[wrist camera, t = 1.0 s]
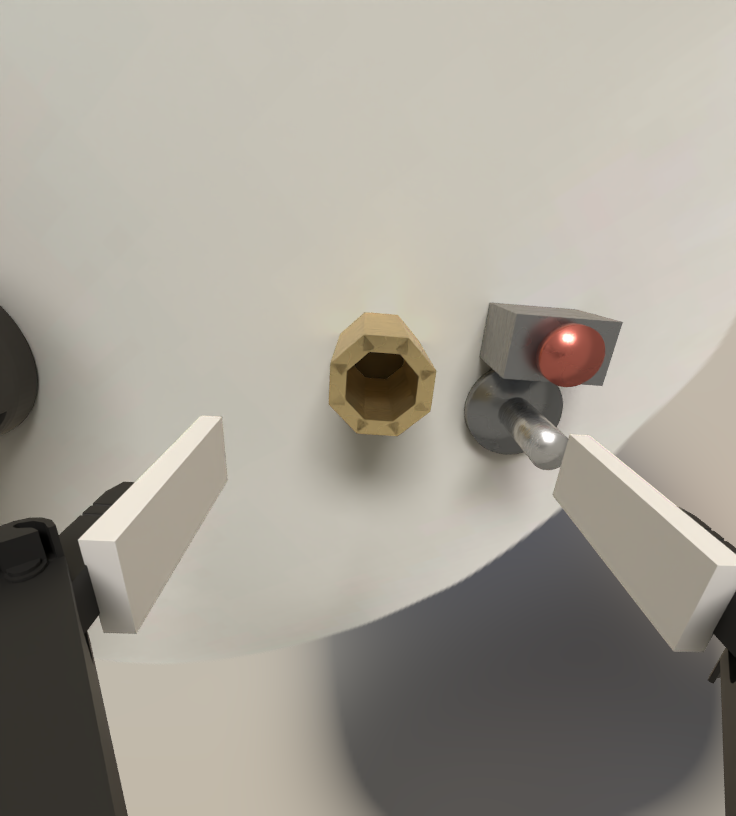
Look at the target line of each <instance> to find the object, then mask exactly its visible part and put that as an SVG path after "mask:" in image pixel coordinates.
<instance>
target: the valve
mask: <svg viewBox="0 0 736 816" xmlns="http://www.w3.org/2000/svg"><path fill="white" fill-rule="evenodd" d="M622 323H623V322H620V321H617V320H613V319H609V318H606V317H602V316H598V315H595V314H591V313H587V312H583V311H580V310H575V309H562V308H550V307H537V306H524V305H512V304H499V303H490V305H489V310H488V315H487V321H486V326H485V331H484V337H483V342H482V347H481V353H480V358H481V359H483V360H484V361H485V362H486V363H487V364H488V365H489V366H490V367H491V368H492V370H490V371H489V372H487V373H486V374H484V375H483V376H482V377H481V378H479V380H478V381H477V382H476V383H475V384H474V385H473V387H472V388H471V390H470V392H469V394H468V396H467V399H466V402H465V409H464V413H465V421H466V424H467V426H468V428H469V430H470V432H471V434H472V435H473V437H474V438H475V440H476V441H477V442H478V443H479V444H480V445H482V446H483V447H484V448H486V449H488V450H490V451H492V452H496V453H499V454H518V453H522V452H525V454H526V455H527V456H528V457H529V459H530V460H531V461H532V462H533V464H534V465H535V466H536V467H538V468H540V469H543V470H553V469H556V468H559V467H561V464H562V460H563V457H564V453H565V450H566V446H567V442H568V438H567V437H566V436H565V435H564V434H563V433H562V432H560V431H559V430H558V429H557V428H556V427H557V425H558V423H559V421H560V418H561V414H562V408H563V401H562V395H561V392H560V390H559V387H558V386H561V387H573V386H577V385H580V384H584V385H598V386H602V385H603V382H604V379H605V376H606V373H607V370H608V367H609V364H610V360H611V357H612V354H613V351H614V348H615V345H616V342H617V338H618V335H619V332H620V329H621V326H622ZM557 385H558V386H557Z"/></svg>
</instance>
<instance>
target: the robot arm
mask: <svg viewBox="0 0 736 816" xmlns="http://www.w3.org/2000/svg"><path fill="white" fill-rule="evenodd" d="M36 392H37V373H36V367H35V363H34V359H33V356H32V353H31V351H30V348H29V346H28V344H27V342H26V340H25V338H24V336H23V334H22V333H21V331H20V329H19V328H18V327H17V325H16V324H15V322H14V321H13V320H12V318H11V317H10V316H9V315H8V313H7V312H6V311H5V310H4V309H3V308H2V307H1V306H0V435H2V434H4V433H6V432H8V431H10V430H12V429H14V428H15V427H17V426H18V425H19V424H20V423H21V422H22V421H23V420H24V419H25V418H26V417H27V415H28V414H29V412H30V411H31V409H32V406H33V404H34V401H35V397H36ZM227 481H228V479H227V468H226V456H225V445H224V434H223V423H222V417H217V416H200V417H199V418H198V419H197V420H196V421H195V422H194V423H193V424H192V425H191V426H190V427H189V428H188V429H187V430H186V431H185V432H184V433H183V434H182V435H181V436H180V437H179V438H178V439H177V440H176V441H175V442H174V443H173V444H172V445H171V447H170V448H169V449H168V450H167V451H166V452H165V453H164V454H163V455H162V456H161V457H160V458H159V459H158V460H157V461H156V462H155V463H154V464H153V465H152V466H151V467H150V468H149V469H148V470H147V471H146V472H145V473H144V474H143V475H142V476H141V477H140V478H139V479H138V480H137V481H136V482H122V483H121V484H119V485H117V486H115V487H113V488H111V489H110V490H108V491H106V492H105V493H104V494H103V495H102V496H100V497H99V498H98V499H97V500H96V501H95V502H94V503H93V506H90V507H89V508H88V509H86V510H85V511H84V512H83V515H82V516H81V515H80V516H79V517H78V518H77V519H76V520H75V521H74V522H72V523H71V524H70V525H69V526H68V527H67V528H66V529H65V530H64V531H63V532H62V533H61V534H60V535H58V532H57V528H56V525H55V524H54V523H53V521H52V520H49V519H46V518H27V519H22V520H17V521H13V522H10V523H8V524H5V525H2V526H0V816H128V815H127V810H126V805H125V801H124V796H123V791H122V787H121V782H120V777H119V772H118V768H117V763H116V759H115V754H114V749H113V745H112V741H111V736H110V731H109V726H108V722H107V717H106V712H105V708H104V703H103V698H102V694H101V689H100V685H99V680H98V675H97V671H96V666H95V661H94V657H93V652H92V648H91V643H90V639H89V635H88V632H87V630H88V629H89V627H90V626H91V625H92V623H93V622H94V621H95V619H96V618H97V616H98V615H99V618H100V622H101V625H102V629H103V632H104V633H129V634H137V632H138V630H139V629H140V627H141V625H142V624H143V622H144V620H145V618H146V617H147V615H148V613H149V612H150V610H151V608H152V607H153V605H154V603H155V602H156V600H157V598H158V597H159V595H160V593H161V592H162V590H163V588H164V587H165V585H166V583H167V582H168V580H169V578H170V576H171V575H172V573H173V571H174V570H175V568H176V566H177V565H178V563H179V561H180V560H181V558H182V556H183V555H184V553H185V551H186V550H187V548H188V546H189V545H190V543H191V541H192V539H193V538H194V536H195V534H196V533H197V531H198V529H199V528H200V526H201V524H202V523H203V521H204V519H205V518H206V516H207V514H208V513H209V511H210V509H211V508H212V506H213V504H214V503H215V501H216V499H217V497H218V496H219V494H220V492H221V491H222V489H223V487H224V486H225V484H226V482H227ZM553 496H554V498H555V499H556V500H557V501H558V503H559V504H560V505H561V507H562V508H563V509H564V510H565V512H566V513H567V514H568V515H569V517H570V518H571V520H572V521H573V522H574V523H575V525H576V526H577V527H578V529H579V530H580V531H581V532H582V533H583V535H584V536H585V538H586V539H587V540H588V541H589V543H590V544H591V545H592V546H593V548H594V549H595V550H596V552H597V553H598V554H599V556H600V557H601V558H602V560H603V561H604V562H605V563H606V565H607V566H608V567H609V569H610V570H611V571H612V572H613V574H614V575H615V576H616V578H617V579H618V580H619V581H620V583H621V584H622V585H623V587H624V588H625V589H626V590H627V592H628V593H629V594H630V596H631V597H632V598H633V599H634V601H635V602H636V603H637V605H638V606H639V607H640V609H641V610H642V611H643V612H644V614H645V615H646V616H647V618H648V619H649V620H650V621H651V623H652V624H653V625H654V627H655V628H656V629H657V630H658V632H659V633H660V634H661V636H662V637H663V638H664V640H665V641H666V642H667V643H668V645H669V646H670V647H671V649H672V650H673V651H685V652H704V650H705V649H706V647H707V645H708V643H709V641H710V640H711V638H712V636H713V634H714V635H715V636H716V637H717V638H718V639H719V640H720V641H721V642H722V644H724V646H725V647H726V648H725V650H724V651H723V653H722V655H721V657H720V658H719V660H718V662H717V663H716V665H715V667H714V669H713V670H712V672H711V674H710V676H709V678H708V681H709V682H711V683H714V682H715V680H716V678H720V677H721V702H722V729H723V759H724V786H725V815H726V816H736V548H735V547H734V546H733V545H731V544H730V543H729V542H727V541H724V538H722V537H721V536H720V535H719V534H717V533H716V532H715V531H711V528H710V527H709V526H707V525H706V524H705V523H704V522H702V521H701V520H700V519H699V518H697V517H696V516H694V515H693V514H691V513H689V512H687V511H685V510H684V509H681V508H680V507H678V506H676V505H674V504H673V503H672V502H671V501H670V500H668V499H667V498H666V497H665V496H663V495H662V494H661V493H660V492H659V491H657V490H656V489H655V488H654V487H652V486H651V485H650V484H649V483H647V482H646V481H645V480H644V479H643V478H641V477H640V476H639V475H638V474H637V473H635V472H634V471H633V470H632V469H630V468H629V467H628V466H627V465H625V464H624V463H623V462H622V461H621V460H619V459H618V458H617V457H616V456H614V455H613V454H612V453H611V452H609V451H608V450H607V449H606V448H605V447H603V446H602V445H601V444H600V443H598V442H597V441H596V440H595V439H593V438H592V437H591V436H590V435H574V434H570V435H569V439H568V442H567V446H566V450H565V453H564V457H563V460H562V464H561V467H560V471H559V474H558V478H557V481H556V485H555V488H554V492H553Z"/></svg>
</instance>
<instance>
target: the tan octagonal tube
mask: <svg viewBox="0 0 736 816" xmlns="http://www.w3.org/2000/svg"><path fill="white" fill-rule="evenodd" d="M369 352H379V353H392V354H401V356H402V357H403V358H404V361H403V366H402V367H400V368H399V369H398V370H397V371H395V372H394V373H393V374H392V375H391V376H389V377H388V378H387V379H381V378H367V377H364V376H363V375H362V373H361V372H360V371H359V370H358V369H357V368H356V367H355V366H354V365H355V364H356V363H357V362H358V361H359V360H361V359H362V358H363V357H364V356H365V355H366V354H368V353H369ZM435 376H436V370H435V368H434V366H433V364H432V363H431V361H430V359H429V358H428V356H427V354H426V352H425V351H424V349H423V347H422V346H421V344H420V342H419V340H418V339H417V338H416V337H415V335H414V334H413V333H412V332H411V331H410V329H409V328H408V327H407V326H406V324H405V323H404V322H403V321H402V320H401V318H400V317H399V316H398V315H391V314H379V313H366V312H365V313H364V314H362V315H361V316H360V317H359V318H358V319H357V320H356V321H354V322H353V323H352V324H351V325H350V326H349V327H348V328H347V329H345V330H344V331H343V332H342V333H341V334H340V336H339V339H338V342H337V345H336V348H335V351H334V354H333V357H332V360H331V363H330V386H329V405H330V406H331V407H332V408H333V409H334V410H335V411H336V412H337V413H338V414H339V416H340V417H341V418H342V419H343V420H344V421H345V422H346V423H347V424H348V425H349V426H350V427H351V428H352V429H353V430H354V431H355V432H356V433H358V434H373V435H387V436H399V435H400V434H401V433H402V432H404V431H405V430H406V429H408V428H409V427H410V426H412V425H413V424H414V423H416V422H417V421H418V420H420V419H421V418H422V417H424V416H425V415H426V414H428V413H429V412H430V410H431V404H432V397H433V390H434V383H435Z"/></svg>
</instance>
